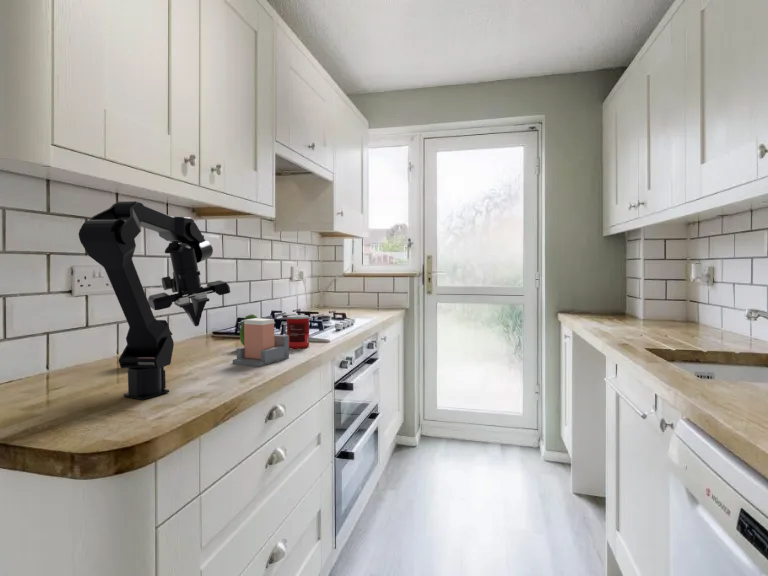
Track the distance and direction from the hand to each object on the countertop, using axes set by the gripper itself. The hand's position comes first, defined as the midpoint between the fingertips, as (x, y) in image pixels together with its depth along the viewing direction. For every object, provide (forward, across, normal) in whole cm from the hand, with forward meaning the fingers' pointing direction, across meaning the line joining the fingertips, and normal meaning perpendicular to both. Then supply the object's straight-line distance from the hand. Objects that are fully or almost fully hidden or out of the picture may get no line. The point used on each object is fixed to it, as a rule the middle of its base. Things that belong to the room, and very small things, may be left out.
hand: (196, 325), depth 113 cm
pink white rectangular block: (+15, -16, -2) cm, 22 cm away
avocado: (+20, -23, -21) cm, 37 cm away
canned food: (+22, -36, -14) cm, 45 cm away
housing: (+16, -17, -2) cm, 23 cm away
